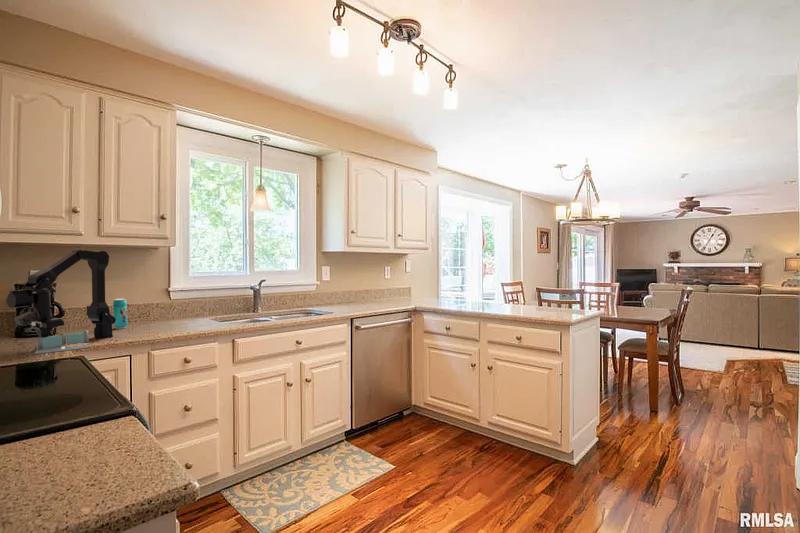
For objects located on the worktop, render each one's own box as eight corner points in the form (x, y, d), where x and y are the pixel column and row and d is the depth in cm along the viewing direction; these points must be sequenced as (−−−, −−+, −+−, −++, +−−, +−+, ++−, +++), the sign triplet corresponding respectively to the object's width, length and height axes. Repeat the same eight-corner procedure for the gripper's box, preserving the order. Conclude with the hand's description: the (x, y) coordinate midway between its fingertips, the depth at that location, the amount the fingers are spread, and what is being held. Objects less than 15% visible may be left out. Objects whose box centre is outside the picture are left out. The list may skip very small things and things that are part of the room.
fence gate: (64, 344, 178) (64, 333, 177) (66, 344, 177) (66, 333, 177) (36, 349, 169) (36, 337, 169) (38, 349, 168) (38, 337, 168)
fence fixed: (88, 342, 182) (88, 330, 182) (88, 342, 181) (88, 330, 181) (66, 344, 178) (66, 332, 178) (66, 345, 177) (66, 333, 176)
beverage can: (120, 329, 214) (119, 299, 213) (111, 328, 215) (110, 299, 214) (130, 327, 219) (129, 298, 219) (120, 326, 221) (119, 298, 220)
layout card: (88, 340, 187) (88, 339, 187) (89, 347, 173) (89, 346, 173) (37, 346, 177) (37, 345, 177) (34, 354, 163) (34, 353, 163)
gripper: (3, 305, 167) (5, 344, 168) (31, 308, 160) (33, 349, 161) (36, 301, 177) (38, 338, 178) (64, 304, 170) (65, 343, 171)
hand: (43, 342), depth 172 cm, fingers closed
